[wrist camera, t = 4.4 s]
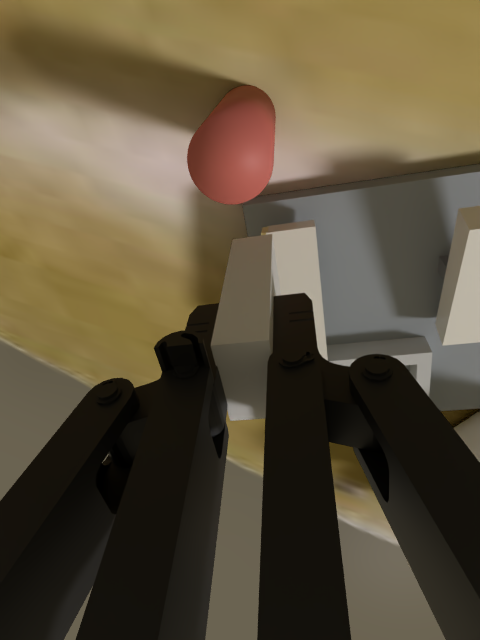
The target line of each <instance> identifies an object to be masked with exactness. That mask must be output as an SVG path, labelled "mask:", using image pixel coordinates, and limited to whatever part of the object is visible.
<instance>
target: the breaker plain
mask: <svg viewBox="0 0 480 640" xmlns="http://www.w3.org/2000/svg"><path fill="white" fill-rule="evenodd" d="M435 325H436V328H437V331H438V334H439V337H440V340H441V343H442V346H444V345H455V344H467V343H478V342H480V206H474V207H466V208H459V209H458V214H457V219H456V224H455V229H454V234H453V239H452V243H451V248H450V253H449V258H448V263H447V268H446V273H445V278H444V283H443V288H442V293H441V297H440V302H439V307H438V312H437V317H436V322H435Z"/></svg>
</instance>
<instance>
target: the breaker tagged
mask: <svg viewBox="0 0 480 640" xmlns="http://www.w3.org/2000/svg"><path fill="white" fill-rule="evenodd" d="M268 234H272V236H273V243H274V249H275V256H276V263H277V270H278V277H279V284H280V291H281V295H288V294H297V293H305V294H306V295H307V296H308V297H309V298H310V299H311V300H312V304H313V313H314V321H315V330H316V338H317V347H318V351H319V353H320V354H321V356H322V357H323V358H325V359H326V360H327V361H328V357H327V346H326V335H325V324H324V313H323V302H322V291H321V281H320V270H319V259H318V248H317V237H316V226H315V222H314V220H308V221H301V222H294V223H286V224H279V225H272V226H267V227H263V228H262V231H261V235H268Z"/></svg>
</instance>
